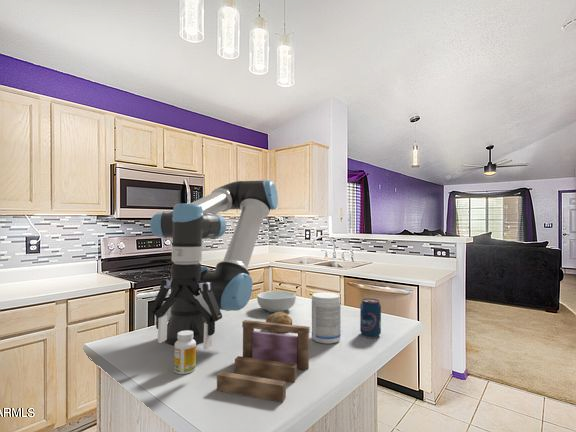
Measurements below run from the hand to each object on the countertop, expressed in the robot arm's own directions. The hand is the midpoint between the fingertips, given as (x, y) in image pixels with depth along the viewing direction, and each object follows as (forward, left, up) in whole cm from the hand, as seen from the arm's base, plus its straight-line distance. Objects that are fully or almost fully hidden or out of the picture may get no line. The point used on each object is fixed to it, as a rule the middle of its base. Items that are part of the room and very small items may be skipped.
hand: (184, 344), depth 85 cm
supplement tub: (+31, +34, -7) cm, 47 cm away
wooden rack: (+21, +3, -7) cm, 22 cm away
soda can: (+45, +43, -7) cm, 63 cm away
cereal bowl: (+4, +62, -7) cm, 63 cm away
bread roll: (+13, +40, -7) cm, 42 cm away
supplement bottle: (0, 0, -7) cm, 7 cm away
